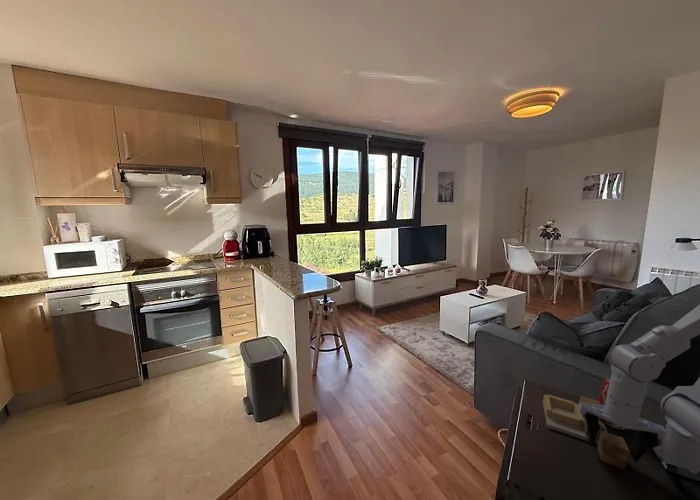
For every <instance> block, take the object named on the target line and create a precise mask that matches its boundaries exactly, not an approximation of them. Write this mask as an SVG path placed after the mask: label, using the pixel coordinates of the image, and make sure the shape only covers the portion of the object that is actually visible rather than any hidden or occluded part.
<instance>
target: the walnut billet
mask: <svg viewBox="0 0 700 500" xmlns="http://www.w3.org/2000/svg"><path fill="white" fill-rule="evenodd" d="M596 449H597V453H598V454H599V458H600V460H601V462H603V463H605V464H608V465H611V466H614V467H616V468H619V469H621V470H626V466H627V461H628V458H629V454H630V449H629V447H628V445H627V443H626V441H625V439H624V437H622V436H619V435H615V434H612V433H609V432H608V433H606V432H603V431H601V434H600V438H599V442H598V444H597V447H596Z"/></svg>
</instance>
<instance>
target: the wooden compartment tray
mask: <svg viewBox="0 0 700 500" xmlns="http://www.w3.org/2000/svg"><path fill="white" fill-rule="evenodd" d="M598 400H599V399H593V398H590V397H586V396H583V395H580V397H579V402H583V403H588V404H595V405H601V404H600V402H599V401H598ZM579 402H578V403H575V402H574V401H572V400H568V399H565V398H562V397H558V396H554V395H552V394H543V399H542V406H543V410H544V411H543V413H544V417H545V422H546V427H547V428H548V429H551V430H553V431H556V432H560V433H561V434H566V435H568V436H571V437H575V438H577V439H581V440H584V441H586V442H589V441H588V428H587V423H586V419H585V416H584V415H583V414H580V412H579V410H578V407H579ZM598 420H599V421H600V422H601V423H602V428H601V430H599V431H598V433H597V436H596V442H595V445H598V442H599V438H600V434H601V431H603V432H606V433H609V432H608V430H607V428H606V424H605V423H604V422H602V420H601V418H598Z"/></svg>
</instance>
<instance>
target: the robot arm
mask: <svg viewBox="0 0 700 500" xmlns="http://www.w3.org/2000/svg"><path fill="white" fill-rule="evenodd" d="M697 336H700V304H698V305H697V306H696V307H694V308H693V309H692V310H690V311H689V312H688V313H687V314H685V315H684V316H682V317H681V318H680V319H678V320H677V321H675V322H674V323H673V324H672V325H662V324H661V325H658V326H656V327H654V328H652V329H651V330H650V331H647V333H644V335H642V336H640V337H639V338H637V339H636V340H634V341H632V342H630V343H629V344H627V343H626V344H625V343H624V344H618V345H615V346H614V347H612V349H611V351H610V352H608V353H607V359H608V361H609V363H610V370H611V376H610V377H611V379H610V383H609V388H608V393H607V397H606V401H605V406H603V405H595V404H588V403H583V402H578V405H579V407H578V410H579V412H580V414H583V415H584V416H585V419H586V423H587V428H588V441H587V442H588V443H589V446H591V447H593V448H594V447H595V446H596V444H595V442H596V436H597V433H598V431H599V429H600V425H599V420H598V418H601V419H605V420H607V421H610V422H612V423H614V424H616V425H618V426H621V427H624V428H627V430H634V433H633V434H634V435H633V440H632V444H631V446H630V451H629V454H630V456H631V458H632V459H633V462H639V461H640V459H641V458H642V457H643V456H644V455H645V454H646V453H647V452H649V451H650V450H653V452H654V454H655V455H656V454H657V455H658V457H659V456H661V458H663V460H664V461H663V462H662V463H661V465H662V464H663V465H664V467H665V468H666V469H667V465H666V463H667V464H671V465H675V466H677V467H681V468H682V467H683V468H686V469H688V470H690V472H692V473H695V474H697V473H698V472H699V471H700V376H699V377H698V379H697V380H696V381H695V383H694V384H693V385H684V386H683V385H678V386H676V387H675V388H674V389H673V390H672V391H671V392H670V393H668V394H667V395H665V396H664V397H662V399H661V401H660V410H661V412H662V413H664V414H665V416H664V419H665V420H666V421H667V423H666V426H665V428H664V426H663V425H662V424H657V423H654V422H653V421H650V420H648V419H645V418H642V417H640V416H641V413H642V409H643V404H644V401H645V396H646V393H647V389H648V385H649V382H652V381H653V380H656V379H658V377H660V375H661V373H662V370H663V369H664V368H666V366H667V364H666V363H668V362H669V361H671V360H673V359H674V358H676V357H678V356H680V355H681V354H682V353H684V352H685V351H687V350H689V349H691V340H692V339H693V338H696V337H697ZM659 439H661V440H662V441H661V444H660V441H659ZM657 455H656V456H657ZM658 457H657V458H658ZM663 465H662V466H663ZM664 467H663V468H664ZM665 468H664V469H665Z"/></svg>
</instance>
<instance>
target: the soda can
mask: <svg viewBox="0 0 700 500" xmlns="http://www.w3.org/2000/svg"><path fill="white" fill-rule="evenodd" d="M610 379H611V376H607V377H606V379H605V380H604V381H603V382H602V385H601V389H600V391H599V395H598V396H599V397H598V399H597V400H598V401H599V402H600V404H601V405H603V406H605V401H606V397H607V393H608V388H609V383H610ZM601 422H603V423H604V425H605V426H608V427H609V428H613V429H615V430H621V431H622V430H623V431H624V430H626V431H627V430H628V429H627V428H624V427H621V426H618V425H616V424H614V423H612V422H610V421H607V420H605V419H601Z"/></svg>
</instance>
